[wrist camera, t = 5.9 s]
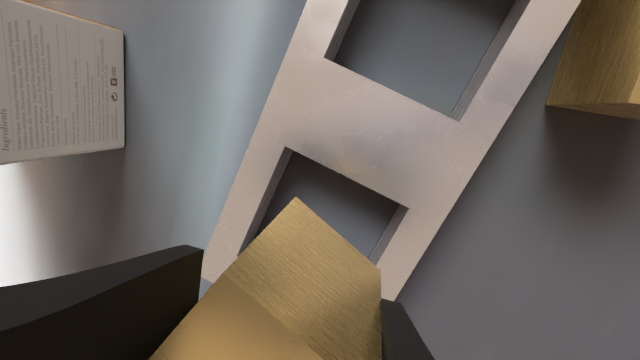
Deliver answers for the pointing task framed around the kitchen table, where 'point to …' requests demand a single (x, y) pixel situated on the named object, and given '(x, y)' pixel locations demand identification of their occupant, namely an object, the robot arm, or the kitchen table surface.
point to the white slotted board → (380, 132)
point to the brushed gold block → (287, 300)
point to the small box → (58, 84)
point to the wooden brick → (601, 60)
